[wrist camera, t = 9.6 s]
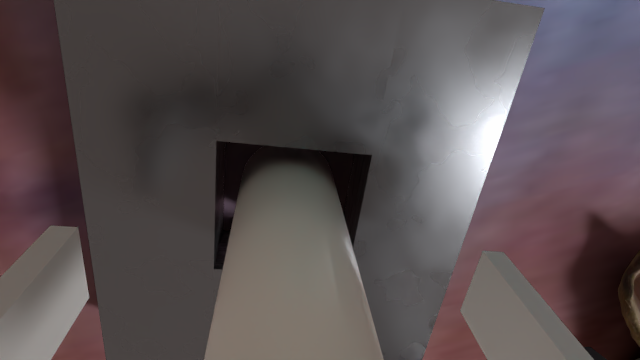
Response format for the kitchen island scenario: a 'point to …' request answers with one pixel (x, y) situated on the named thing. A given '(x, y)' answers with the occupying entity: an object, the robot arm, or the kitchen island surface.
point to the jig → (281, 143)
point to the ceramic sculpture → (631, 297)
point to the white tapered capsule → (290, 268)
